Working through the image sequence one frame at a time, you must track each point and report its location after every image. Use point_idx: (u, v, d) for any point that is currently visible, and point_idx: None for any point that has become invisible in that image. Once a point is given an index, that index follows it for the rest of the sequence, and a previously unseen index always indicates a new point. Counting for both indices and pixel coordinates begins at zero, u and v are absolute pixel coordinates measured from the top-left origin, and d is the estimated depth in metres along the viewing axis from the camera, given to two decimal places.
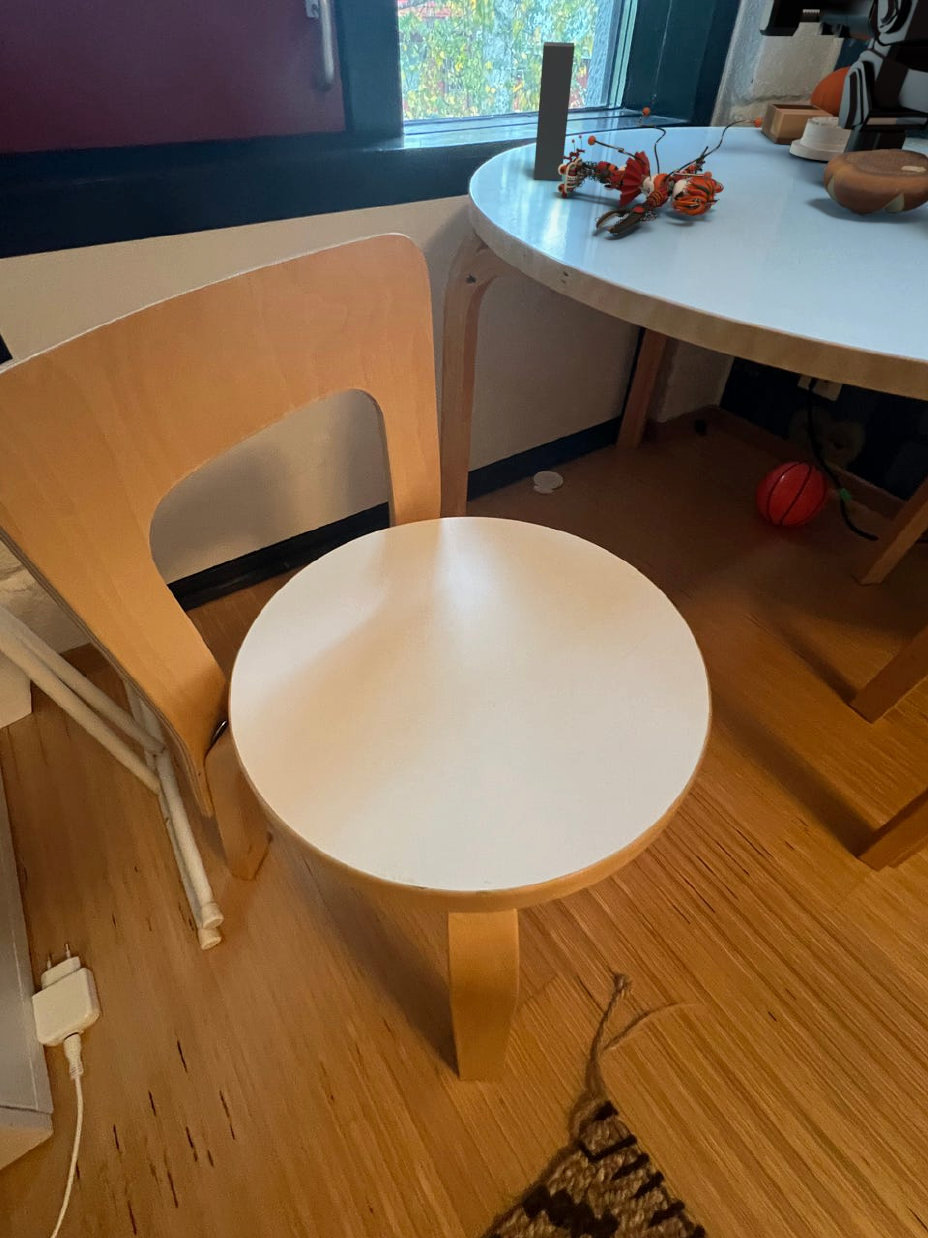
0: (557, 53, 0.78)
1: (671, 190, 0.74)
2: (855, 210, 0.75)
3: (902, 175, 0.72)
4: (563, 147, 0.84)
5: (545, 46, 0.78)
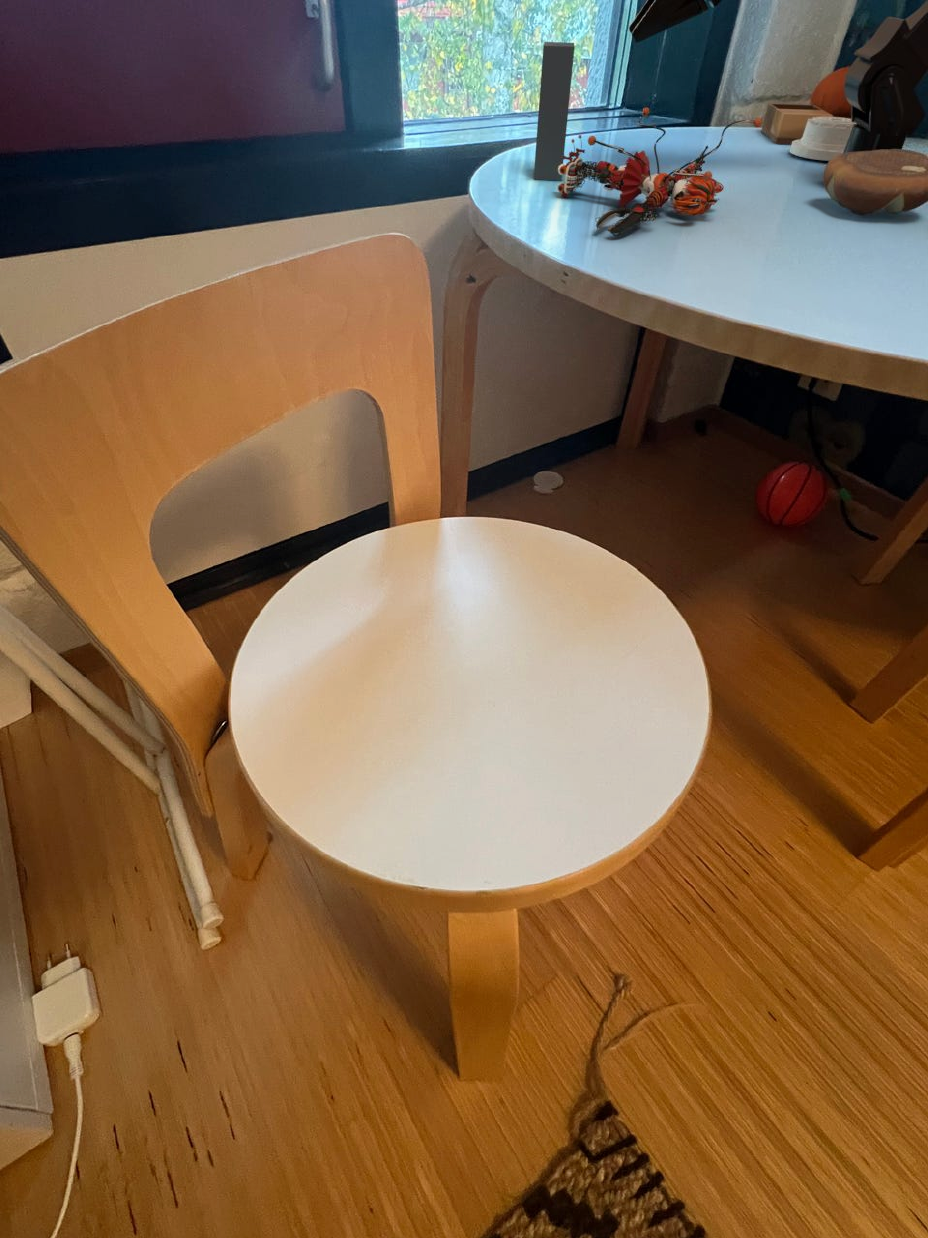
0: (557, 53, 0.78)
1: (671, 190, 0.74)
2: (855, 210, 0.75)
3: (902, 176, 0.72)
4: (563, 147, 0.84)
5: (545, 46, 0.78)
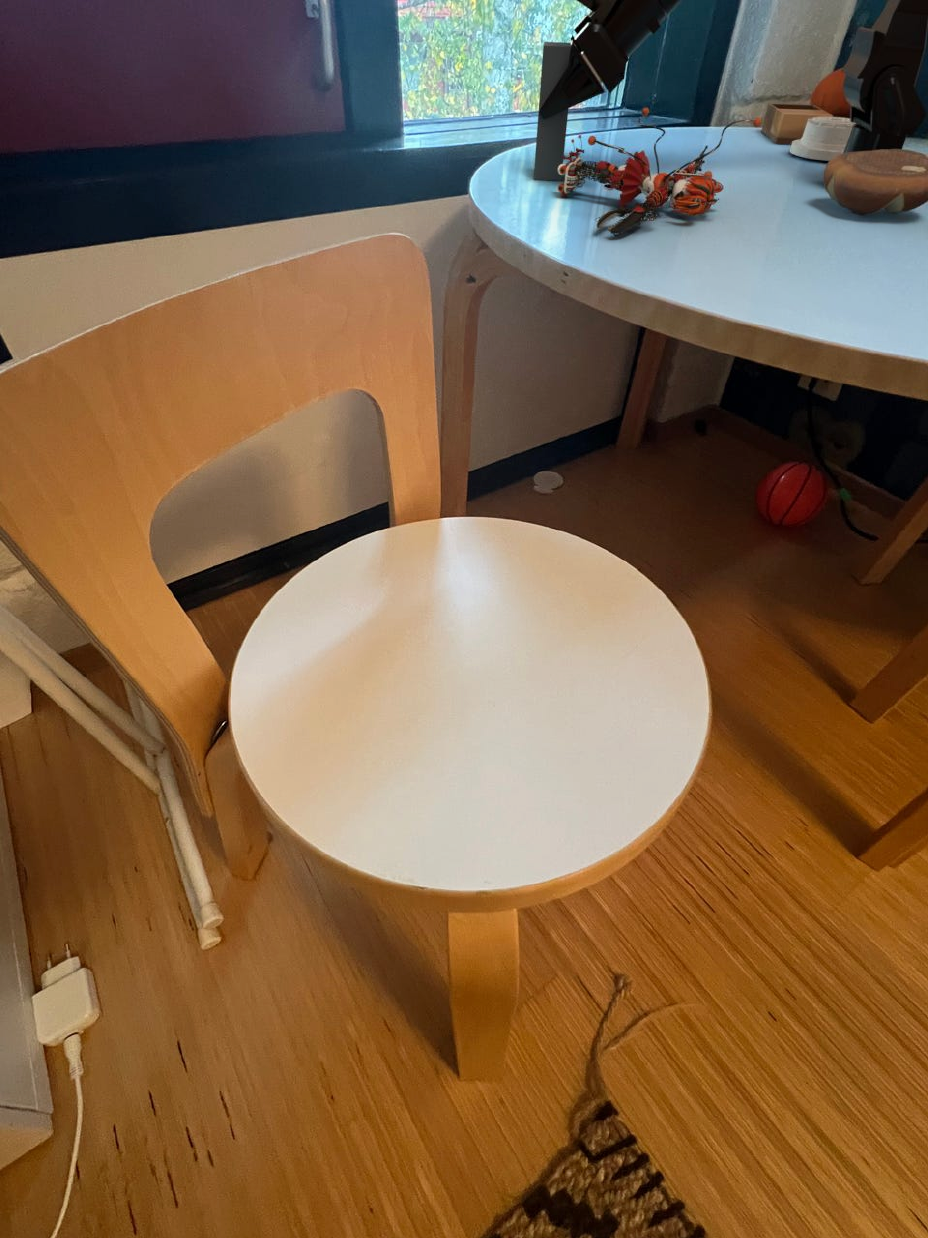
0: (557, 53, 0.78)
1: (671, 190, 0.74)
2: (855, 210, 0.75)
3: (902, 176, 0.72)
4: (563, 147, 0.84)
5: (545, 46, 0.78)
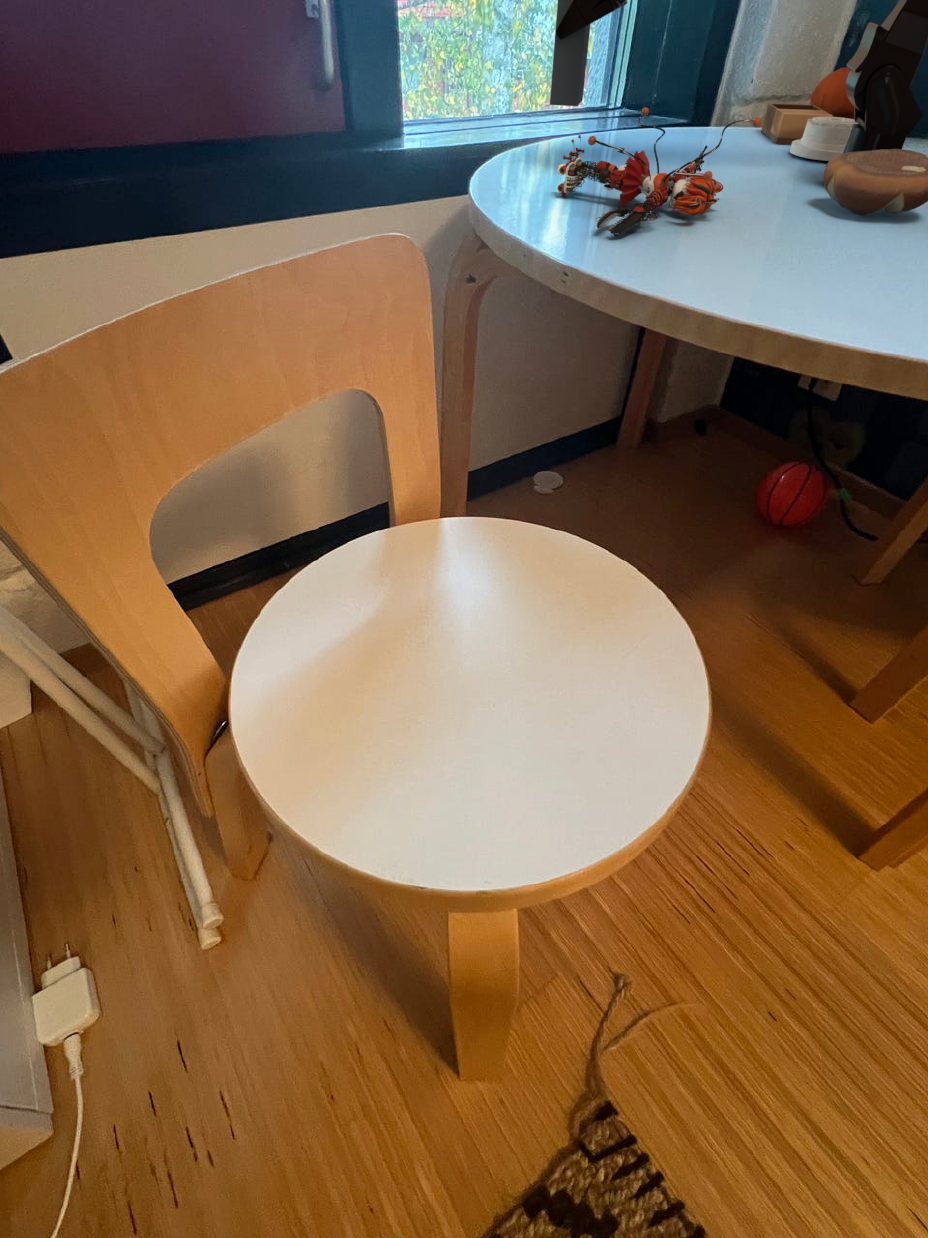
0: None
1: (671, 190, 0.74)
2: (855, 210, 0.75)
3: (902, 176, 0.72)
4: (580, 70, 0.83)
5: None
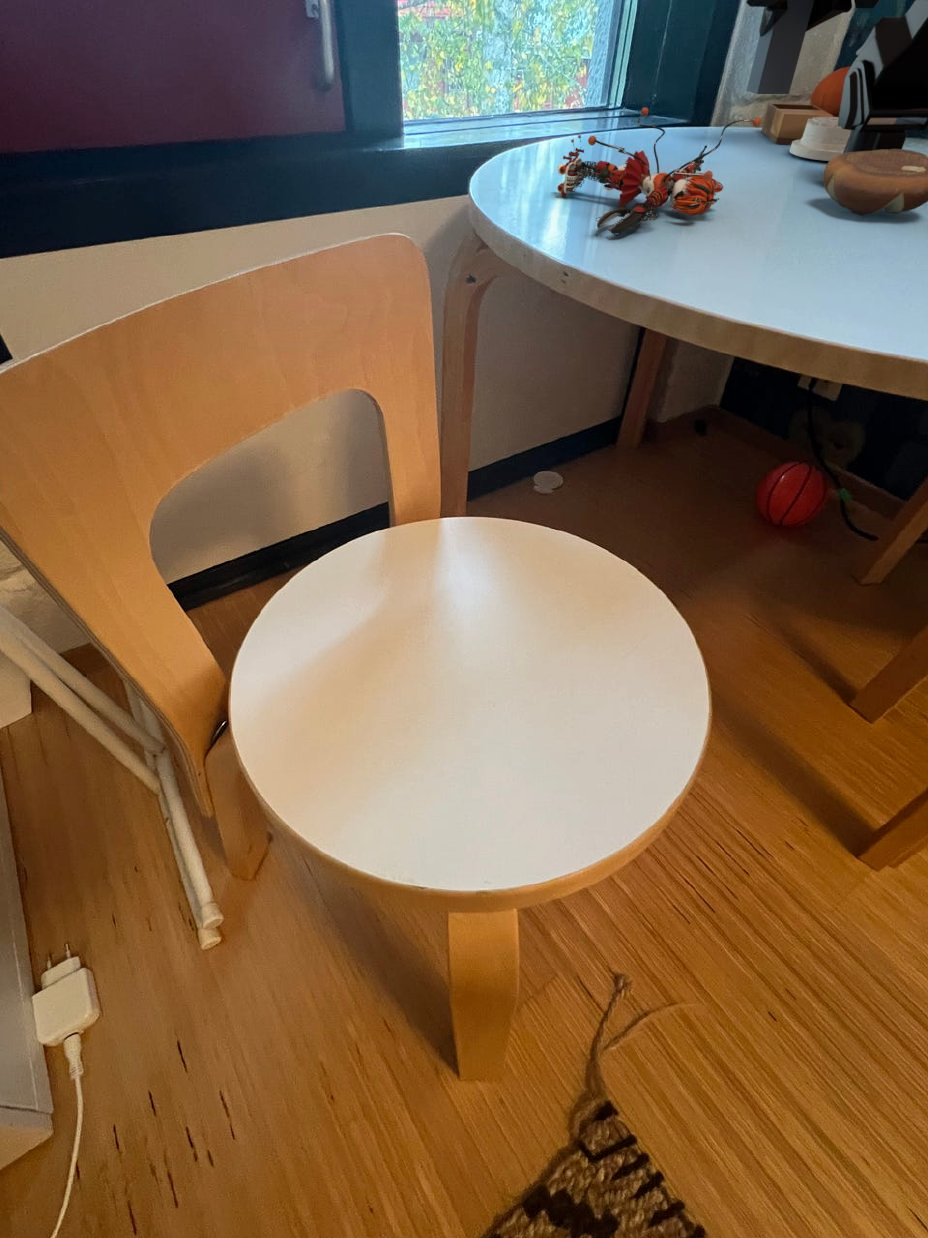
0: None
1: (671, 189, 0.74)
2: (855, 210, 0.75)
3: (902, 176, 0.72)
4: (764, 63, 0.98)
5: None
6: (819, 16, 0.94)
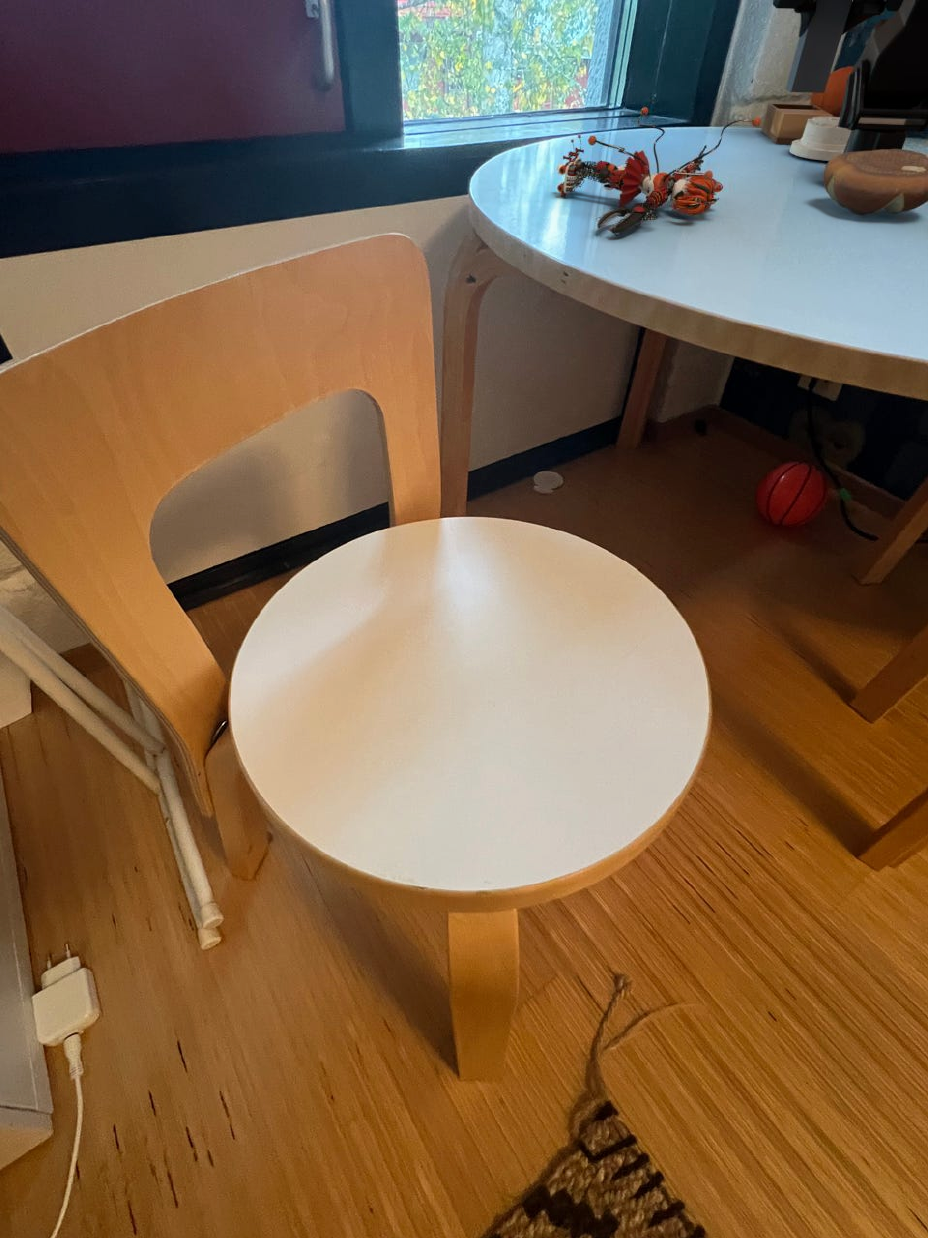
0: None
1: (671, 189, 0.75)
2: (855, 210, 0.75)
3: (902, 176, 0.72)
4: (798, 62, 1.03)
5: None
6: (853, 18, 0.98)
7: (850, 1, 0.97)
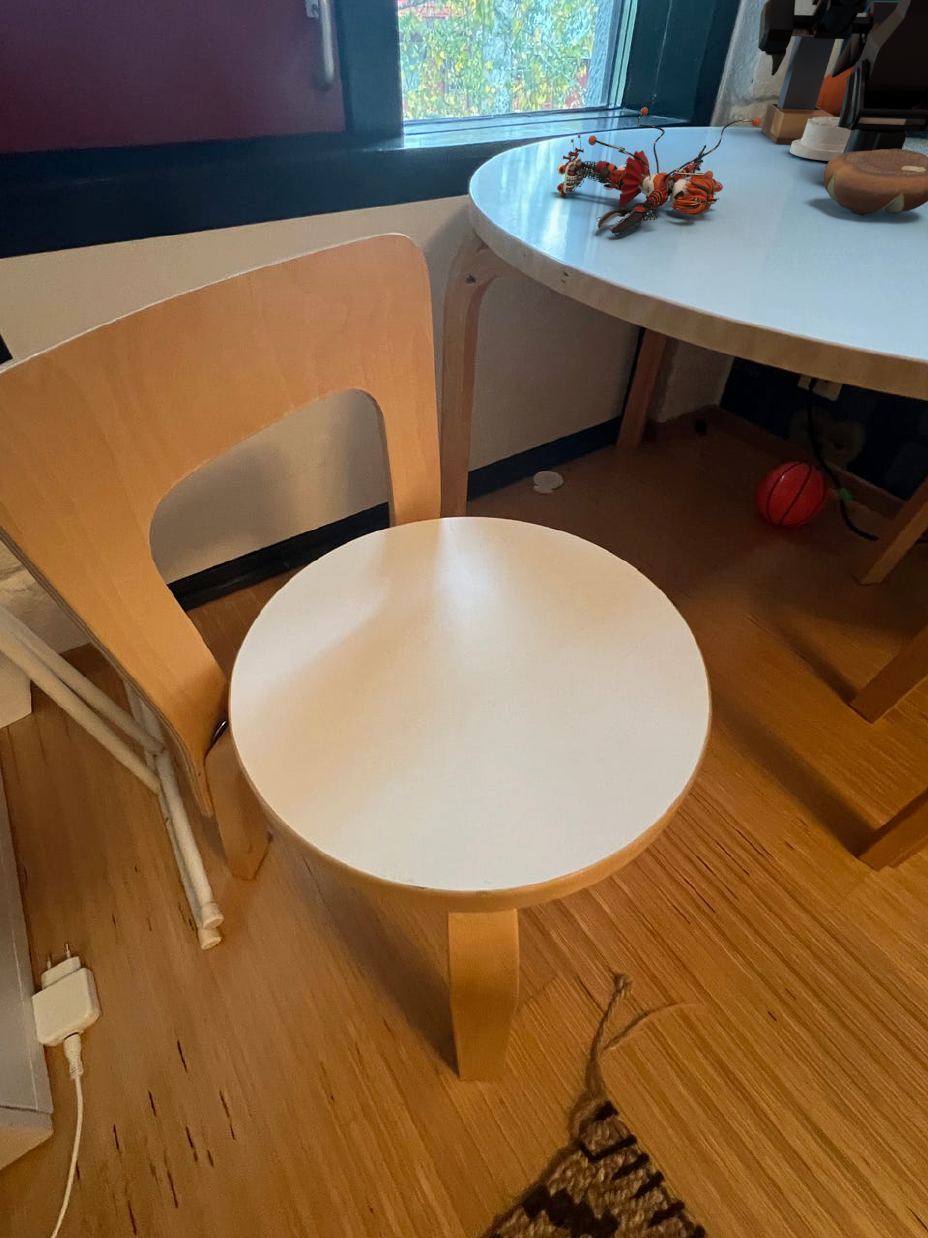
0: None
1: (671, 189, 0.75)
2: (855, 210, 0.75)
3: (902, 176, 0.72)
4: (782, 103, 1.08)
5: None
6: (849, 60, 1.02)
7: (831, 48, 1.03)
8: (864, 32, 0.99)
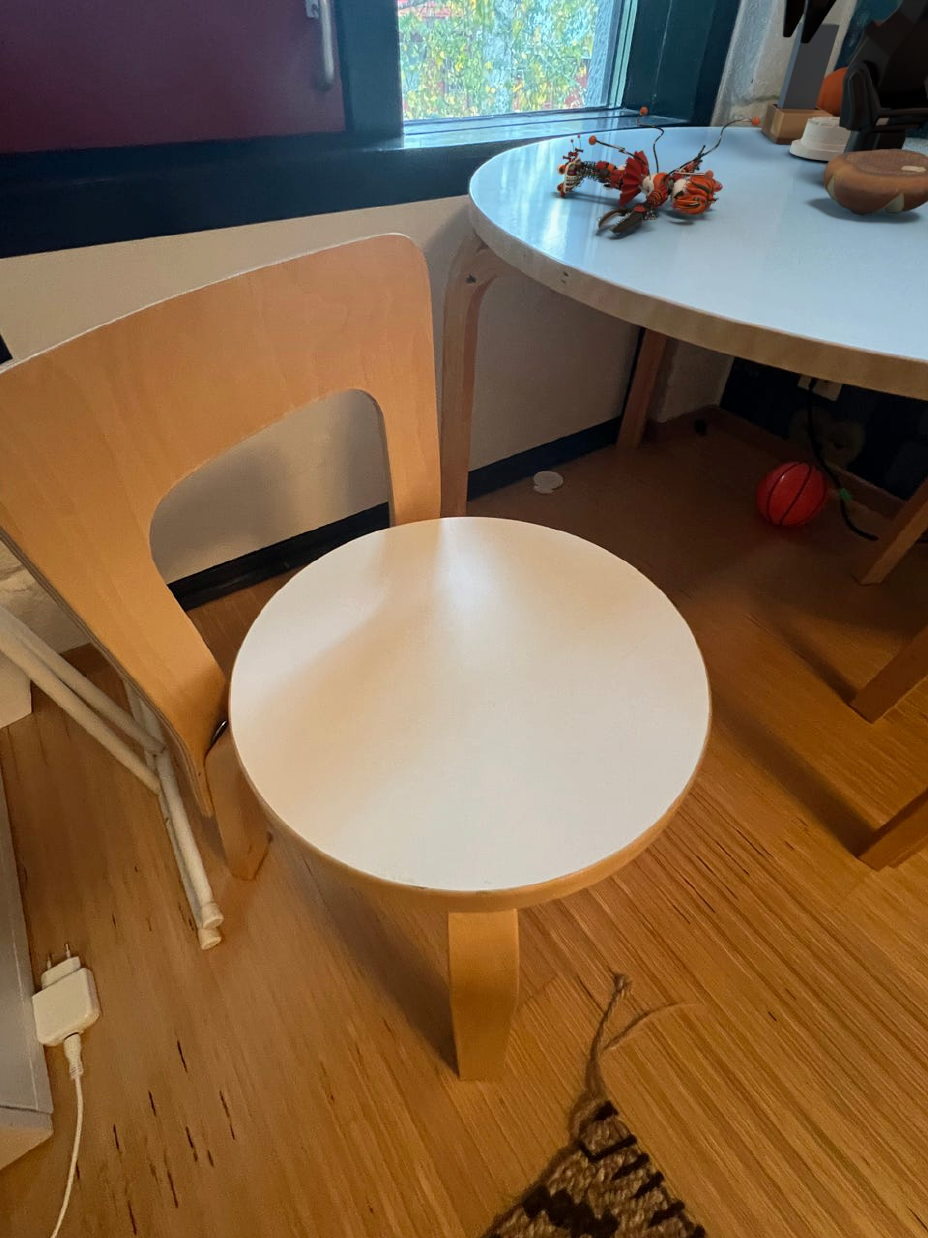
0: (800, 28, 1.03)
1: (671, 189, 0.75)
2: (855, 210, 0.75)
3: (902, 176, 0.72)
4: (782, 103, 1.08)
5: (799, 23, 1.04)
6: None
7: (831, 48, 1.03)
8: None
